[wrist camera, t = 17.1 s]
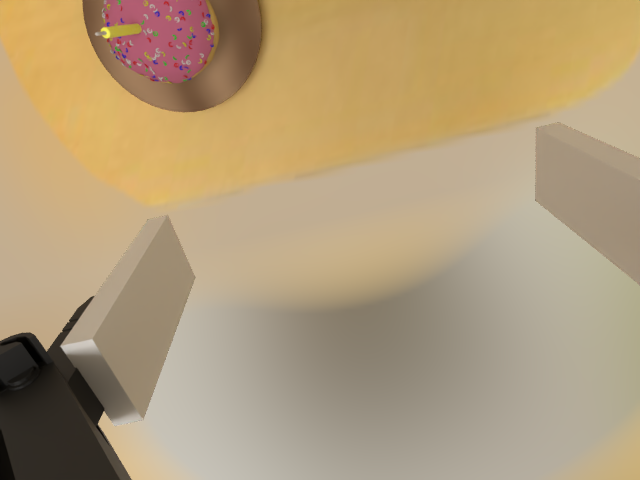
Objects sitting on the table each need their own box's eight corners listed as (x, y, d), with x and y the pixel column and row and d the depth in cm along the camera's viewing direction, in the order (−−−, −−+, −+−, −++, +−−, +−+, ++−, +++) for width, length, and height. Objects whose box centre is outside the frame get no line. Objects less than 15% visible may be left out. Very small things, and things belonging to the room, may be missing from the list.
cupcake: (141, 81, 40) (86, 108, 29) (109, -27, 36) (32, -41, 25) (234, 69, 40) (212, 91, 29) (212, -41, 36) (178, -61, 25)
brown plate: (233, -97, 37) (229, -106, 34) (281, 85, 44) (280, 90, 41) (65, -51, 38) (48, -55, 35) (138, 121, 45) (128, 128, 42)
